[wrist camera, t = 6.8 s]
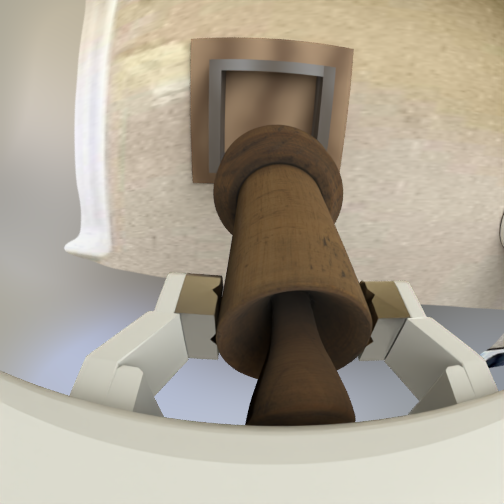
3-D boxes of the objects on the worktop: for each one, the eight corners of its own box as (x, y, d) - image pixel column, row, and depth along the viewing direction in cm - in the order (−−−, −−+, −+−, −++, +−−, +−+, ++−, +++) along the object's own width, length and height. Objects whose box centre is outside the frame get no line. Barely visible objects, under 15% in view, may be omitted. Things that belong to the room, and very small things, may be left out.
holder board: (351, 49, 27) (364, 47, 23) (334, 187, 38) (343, 204, 33) (193, 39, 28) (182, 35, 23) (194, 179, 38) (185, 195, 34)
